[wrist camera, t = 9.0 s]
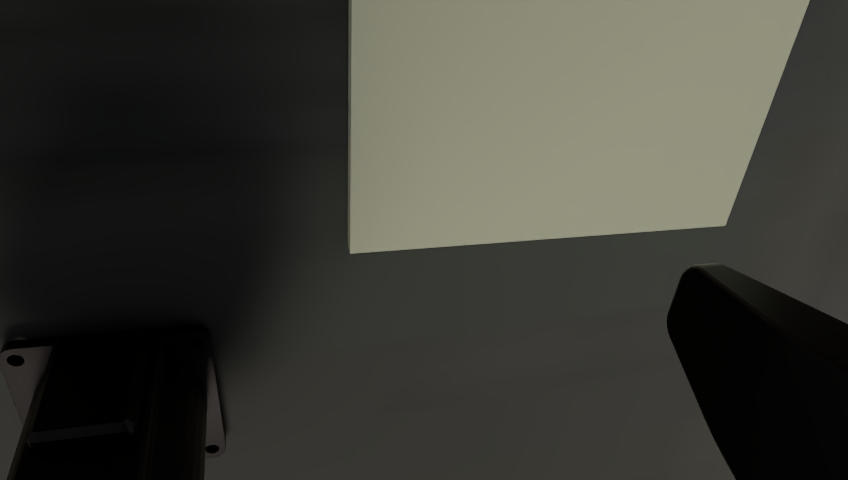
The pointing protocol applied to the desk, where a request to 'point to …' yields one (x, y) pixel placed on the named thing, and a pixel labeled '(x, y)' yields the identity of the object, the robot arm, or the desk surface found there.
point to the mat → (554, 115)
